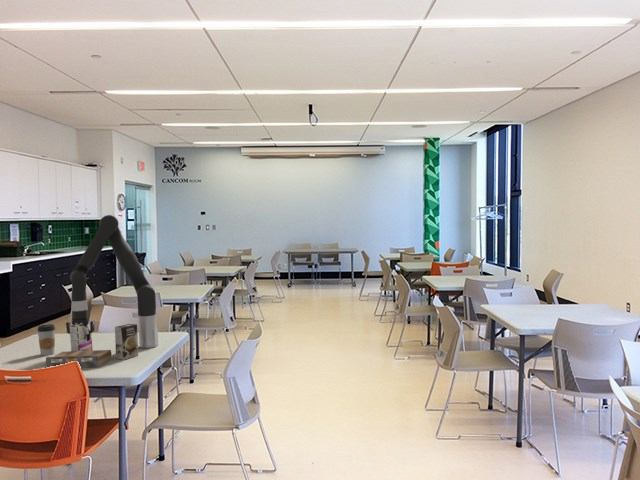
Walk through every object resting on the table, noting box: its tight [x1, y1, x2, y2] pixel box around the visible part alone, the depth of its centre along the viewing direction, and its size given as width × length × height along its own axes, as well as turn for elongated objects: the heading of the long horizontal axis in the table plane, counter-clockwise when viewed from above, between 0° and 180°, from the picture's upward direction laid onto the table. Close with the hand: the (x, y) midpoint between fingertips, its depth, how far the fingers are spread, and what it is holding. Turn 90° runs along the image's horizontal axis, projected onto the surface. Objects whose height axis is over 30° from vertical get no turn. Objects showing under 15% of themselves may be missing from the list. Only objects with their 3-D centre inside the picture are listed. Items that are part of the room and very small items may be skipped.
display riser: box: [45, 349, 112, 369], centre depth 260 cm, size 24×18×6 cm
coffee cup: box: [37, 323, 56, 357], centre depth 281 cm, size 8×8×15 cm
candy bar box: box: [69, 323, 94, 351], centre depth 276 cm, size 11×5×16 cm, turn 168°
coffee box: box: [114, 323, 139, 361], centre depth 269 cm, size 9×6×16 cm
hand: (81, 341), depth 276 cm, fingers open, 6 cm apart
